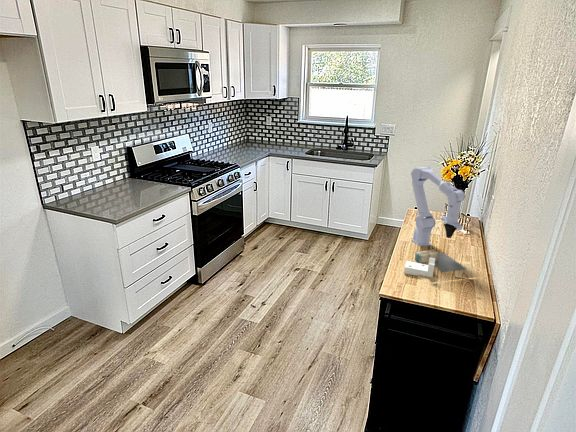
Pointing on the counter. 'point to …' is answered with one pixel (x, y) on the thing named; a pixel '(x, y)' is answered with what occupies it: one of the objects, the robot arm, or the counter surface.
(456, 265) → the mat
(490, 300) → the counter surface
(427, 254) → the tall block
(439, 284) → the counter surface
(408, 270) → the bracket
